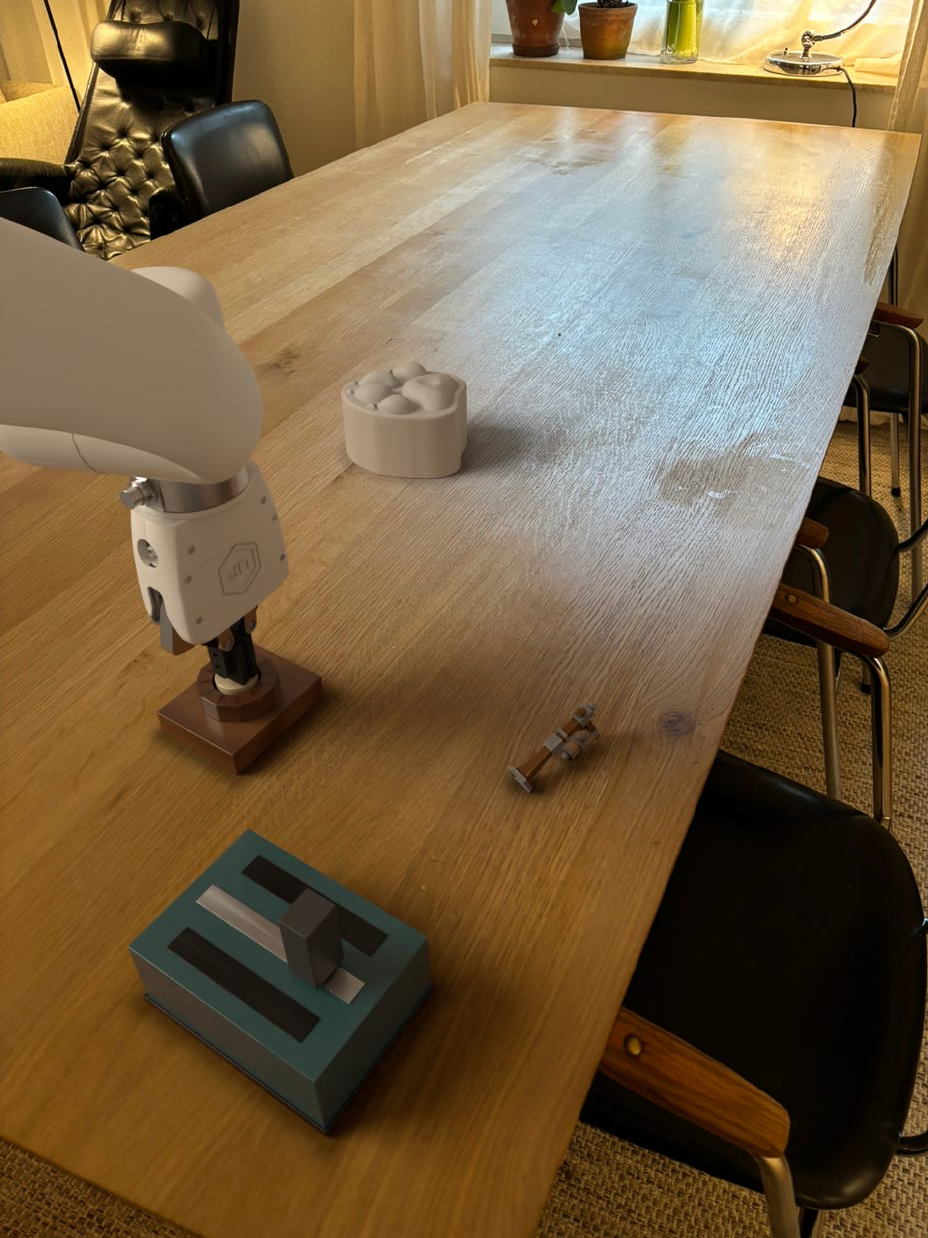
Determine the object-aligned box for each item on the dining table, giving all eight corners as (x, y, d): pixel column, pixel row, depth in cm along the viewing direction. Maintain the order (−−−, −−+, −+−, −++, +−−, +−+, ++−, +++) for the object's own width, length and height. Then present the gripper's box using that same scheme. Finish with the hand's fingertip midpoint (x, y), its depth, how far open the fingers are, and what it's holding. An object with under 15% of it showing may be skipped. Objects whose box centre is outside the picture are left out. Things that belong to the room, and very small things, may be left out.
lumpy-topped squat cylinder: (455, 481, 104) (454, 407, 98) (335, 472, 106) (327, 398, 100) (471, 431, 112) (470, 360, 106) (358, 423, 113) (352, 353, 108)
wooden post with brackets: (614, 732, 75) (600, 704, 72) (539, 806, 74) (521, 782, 71) (598, 718, 77) (583, 690, 73) (524, 791, 75) (505, 766, 72)
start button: (240, 711, 75) (236, 694, 74) (210, 694, 77) (205, 678, 76) (268, 686, 77) (265, 670, 76) (238, 671, 79) (235, 654, 78)
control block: (237, 775, 74) (228, 739, 71) (162, 732, 77) (151, 695, 75) (324, 695, 80) (318, 659, 78) (251, 658, 84) (243, 623, 81)
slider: (317, 990, 54) (306, 939, 51) (289, 972, 55) (276, 920, 51) (345, 957, 55) (336, 905, 52) (317, 939, 56) (307, 887, 53)
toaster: (326, 1138, 54) (314, 1088, 50) (144, 1001, 60) (120, 946, 56) (436, 990, 61) (433, 935, 57) (261, 879, 67) (247, 823, 63)
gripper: (142, 545, 58) (201, 755, 70) (310, 434, 67) (336, 636, 79) (58, 505, 61) (128, 713, 73) (229, 405, 70) (266, 603, 82)
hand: (236, 672), depth 76 cm, fingers closed
